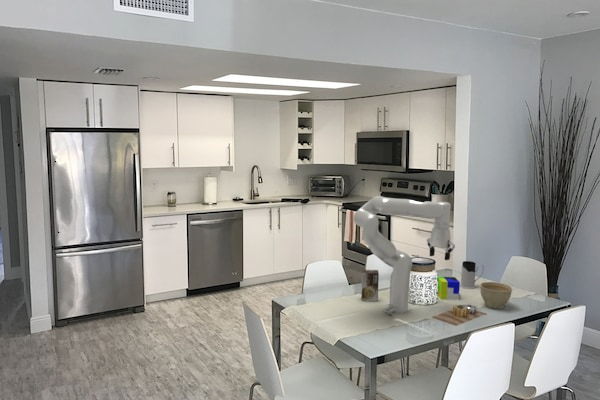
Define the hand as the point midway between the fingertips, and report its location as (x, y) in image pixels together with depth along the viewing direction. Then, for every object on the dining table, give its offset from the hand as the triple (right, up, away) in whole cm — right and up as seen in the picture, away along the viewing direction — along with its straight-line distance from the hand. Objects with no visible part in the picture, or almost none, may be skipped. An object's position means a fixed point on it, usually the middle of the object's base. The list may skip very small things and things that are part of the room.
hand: (439, 257), depth 266 cm
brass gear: (+8, -28, -10) cm, 30 cm away
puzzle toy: (+11, -25, +24) cm, 36 cm away
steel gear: (+14, -27, -5) cm, 31 cm away
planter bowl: (+32, -27, +9) cm, 43 cm away
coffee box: (-34, -25, +16) cm, 45 cm away
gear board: (+7, -29, -11) cm, 32 cm away
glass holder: (+31, -23, +43) cm, 58 cm away
